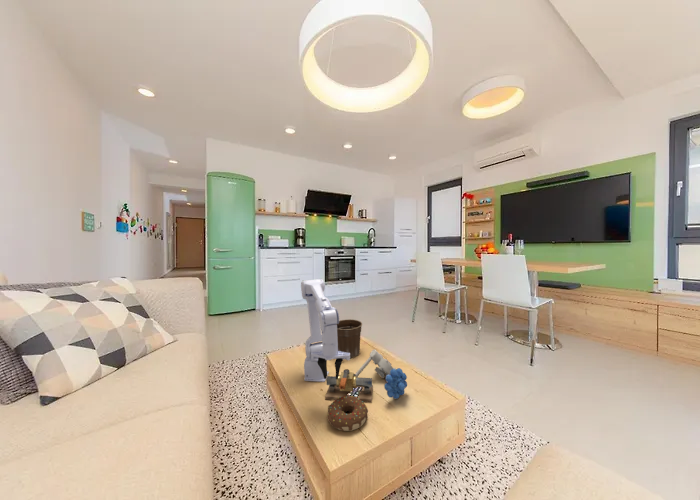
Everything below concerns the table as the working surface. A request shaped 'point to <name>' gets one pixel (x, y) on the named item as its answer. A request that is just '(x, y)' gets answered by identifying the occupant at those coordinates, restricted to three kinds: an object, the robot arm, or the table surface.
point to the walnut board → (339, 393)
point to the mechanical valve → (378, 360)
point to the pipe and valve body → (349, 383)
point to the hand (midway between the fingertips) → (331, 377)
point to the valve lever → (344, 379)
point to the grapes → (395, 383)
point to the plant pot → (349, 336)
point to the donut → (347, 420)
